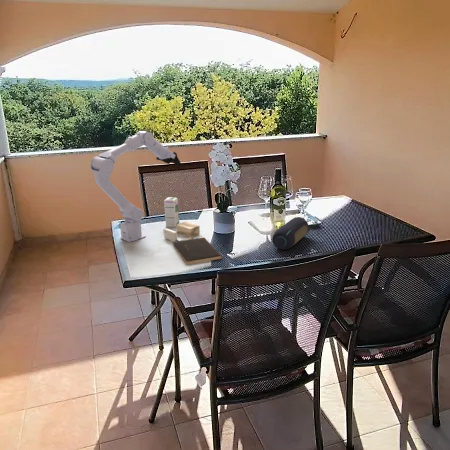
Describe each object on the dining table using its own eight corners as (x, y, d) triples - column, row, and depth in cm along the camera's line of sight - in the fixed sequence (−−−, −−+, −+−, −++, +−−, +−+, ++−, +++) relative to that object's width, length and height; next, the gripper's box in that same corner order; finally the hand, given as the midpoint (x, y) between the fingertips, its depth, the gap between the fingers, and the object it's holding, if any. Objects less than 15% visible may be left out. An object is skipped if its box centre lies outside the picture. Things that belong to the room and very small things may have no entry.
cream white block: (178, 243, 201) (177, 234, 199) (164, 237, 207) (163, 229, 206) (184, 241, 203) (183, 232, 201) (170, 235, 210) (169, 227, 208)
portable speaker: (290, 254, 187) (291, 232, 184) (269, 249, 192) (270, 229, 189) (311, 236, 207) (312, 216, 204) (291, 232, 212) (292, 213, 209)
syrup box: (176, 227, 222) (174, 200, 218) (165, 226, 224) (163, 199, 219) (179, 223, 228) (178, 197, 223) (168, 223, 229) (167, 196, 224)
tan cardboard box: (177, 244, 200) (177, 235, 199) (162, 238, 208) (161, 229, 206) (201, 235, 211) (201, 226, 209) (186, 229, 218) (185, 221, 217)
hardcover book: (186, 266, 178) (186, 261, 178) (172, 246, 199) (172, 242, 198) (222, 259, 184) (222, 255, 183) (205, 241, 204) (205, 237, 203)
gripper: (170, 142, 203) (187, 158, 213) (151, 140, 213) (169, 155, 223) (163, 155, 202) (181, 170, 212) (145, 152, 212) (162, 166, 222)
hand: (174, 163), depth 217 cm, fingers open, 7 cm apart
